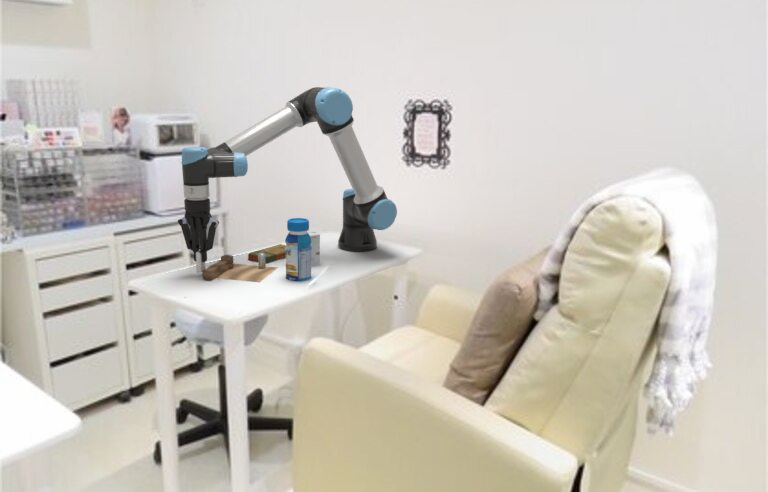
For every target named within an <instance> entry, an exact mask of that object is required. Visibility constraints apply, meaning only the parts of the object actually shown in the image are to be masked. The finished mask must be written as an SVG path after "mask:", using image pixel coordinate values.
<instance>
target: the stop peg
mask: <svg viewBox="0 0 768 492" xmlns="http://www.w3.org/2000/svg"><path fill="white" fill-rule="evenodd" d="M257 266H258V268H259V269H265V268H266V266H267V264H266V258H265V253H258V263H257Z"/></svg>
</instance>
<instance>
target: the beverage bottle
mask: <svg viewBox="0 0 768 492" xmlns="http://www.w3.org/2000/svg"><path fill="white" fill-rule="evenodd" d="M286 222H287V224H286V225H287V226H286V227H287V231H288V232H287V235H286V237H285V240H284V241H285V245H286V247H285V253H286V258H285V279H286V280H287V281H290V282H306V281H309V280H311V279H312V277H313V276H312V267H311V252H312V247H311V245H310V244H311V238H310V236H309V234H308V233H309V230H310V221H309V219H308V218H302V217H294V218H293V217H291V218H288V219H287V221H286Z"/></svg>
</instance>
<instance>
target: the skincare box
mask: <svg viewBox="0 0 768 492" xmlns="http://www.w3.org/2000/svg"><path fill="white" fill-rule="evenodd" d="M308 234H309V236H310V238H311V244H310V245H311V247H312V252H311V268H312V267H318V266H319V267H320V266H321V265H320V264H321V263H320V260H321V255H320V254H321V247H320V246H321V234H320V233H317V232H313V231H312V232H308Z"/></svg>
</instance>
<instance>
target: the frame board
mask: <svg viewBox="0 0 768 492" xmlns="http://www.w3.org/2000/svg"><path fill="white" fill-rule="evenodd" d="M277 269H279V267H277V266H269V265H268V266H267V265H266V268H265V269H259V268H258V265H255V264H245V263H234V267H233V268H229V269H228V270H226V271H225V272H223V273H222V274H220V275H218V276H217V277H215V278H214V279H220V280H230V281H231V280H232V281H242V282H243V281H244V282H251V283H252V282H253V283H261V282H262V281H263V280H264V279H266V278H267V277H268V276H270V275H271V274H273V272H275V271H276V270H277Z"/></svg>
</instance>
